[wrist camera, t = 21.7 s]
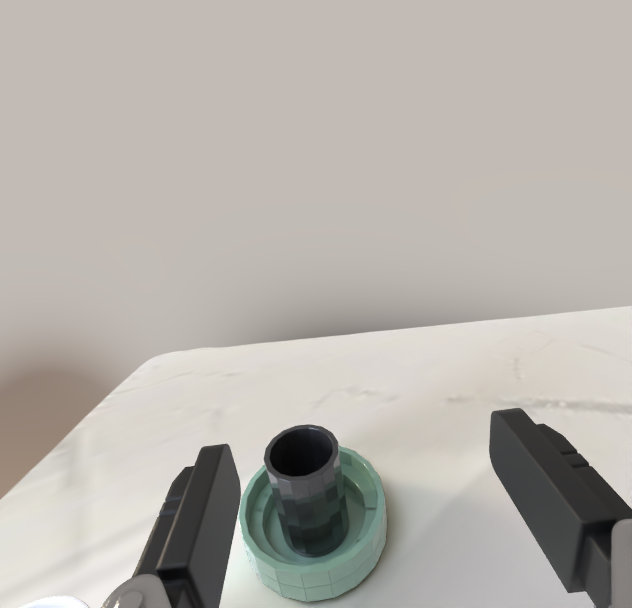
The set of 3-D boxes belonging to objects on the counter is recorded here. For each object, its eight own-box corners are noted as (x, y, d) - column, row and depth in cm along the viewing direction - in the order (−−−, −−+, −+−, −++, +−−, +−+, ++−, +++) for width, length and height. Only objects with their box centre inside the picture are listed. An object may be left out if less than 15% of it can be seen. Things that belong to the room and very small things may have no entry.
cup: (332, 485, 38) (321, 416, 35) (361, 537, 32) (351, 461, 29) (274, 510, 36) (257, 440, 33) (294, 571, 30) (275, 493, 27)
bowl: (348, 454, 42) (345, 427, 41) (416, 558, 31) (414, 526, 29) (237, 501, 38) (229, 473, 37) (267, 639, 27) (256, 607, 25)
